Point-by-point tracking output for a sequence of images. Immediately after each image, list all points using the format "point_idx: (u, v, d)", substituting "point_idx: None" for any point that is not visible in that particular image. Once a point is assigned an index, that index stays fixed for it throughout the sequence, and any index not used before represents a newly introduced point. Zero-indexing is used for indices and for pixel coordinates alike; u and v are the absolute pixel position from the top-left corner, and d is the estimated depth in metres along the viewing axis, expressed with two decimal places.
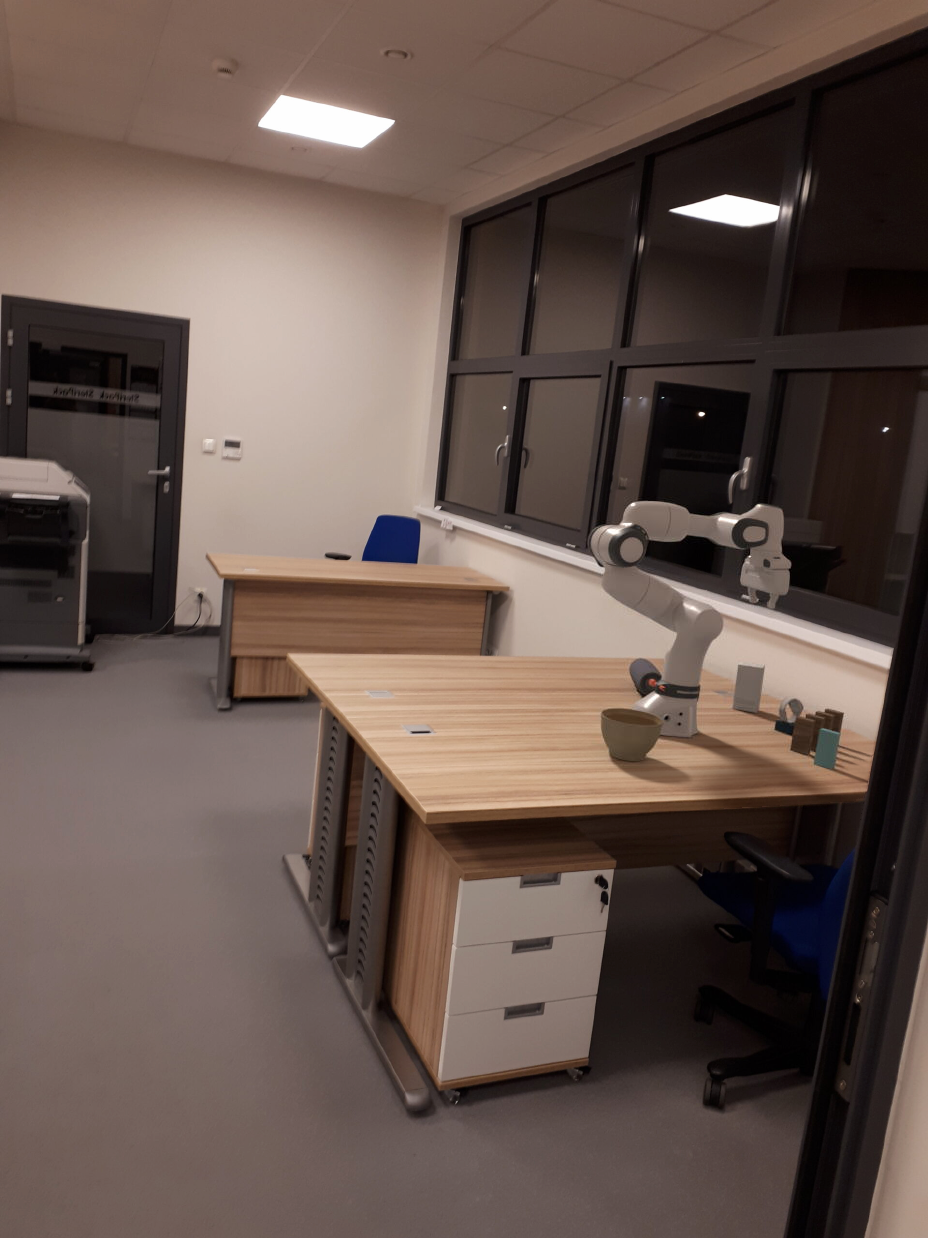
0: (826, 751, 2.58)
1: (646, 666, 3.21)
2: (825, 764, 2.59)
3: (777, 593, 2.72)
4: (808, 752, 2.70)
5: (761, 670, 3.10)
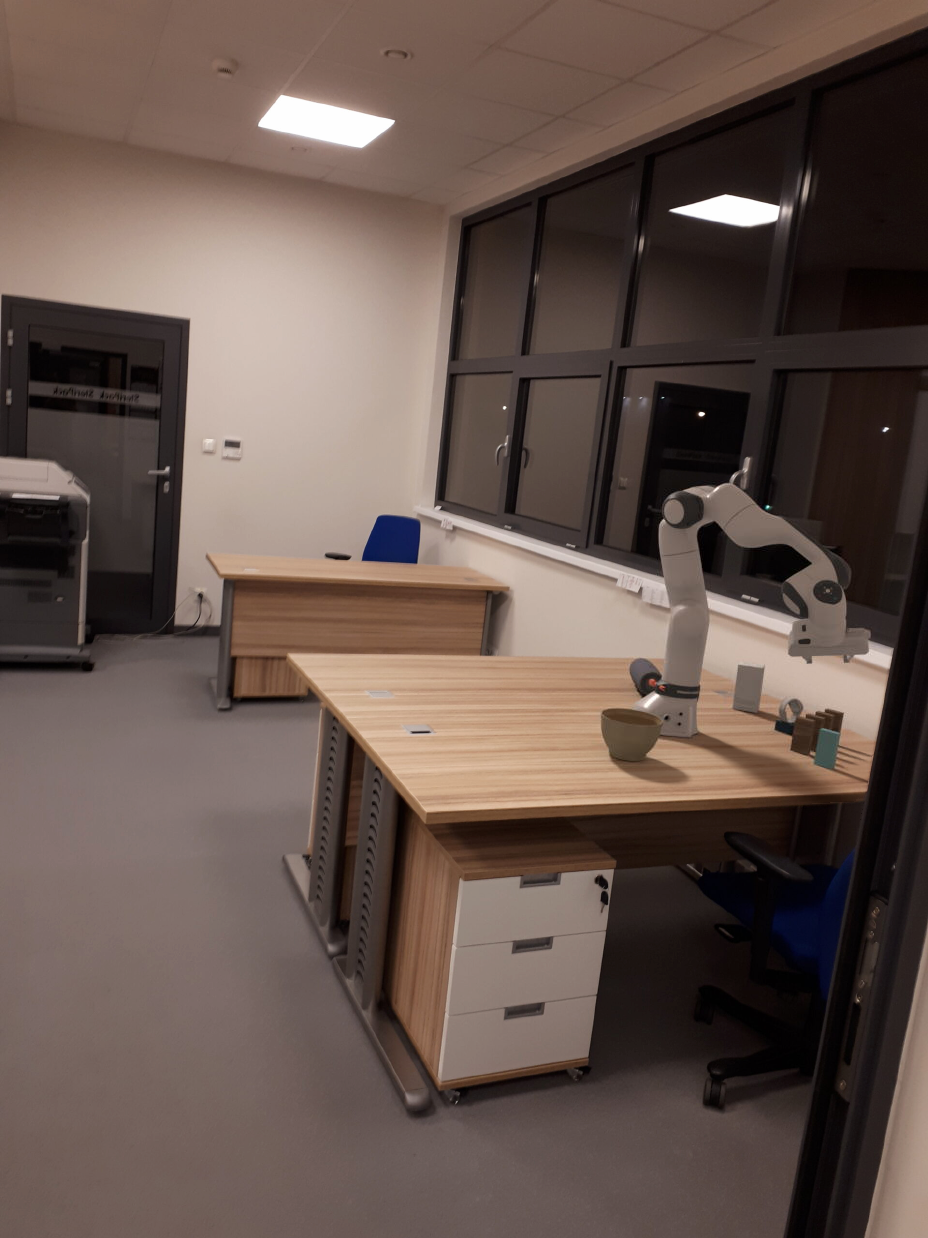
0: (826, 751, 2.58)
1: (646, 666, 3.21)
2: (825, 764, 2.59)
3: None
4: (808, 752, 2.70)
5: (761, 670, 3.10)
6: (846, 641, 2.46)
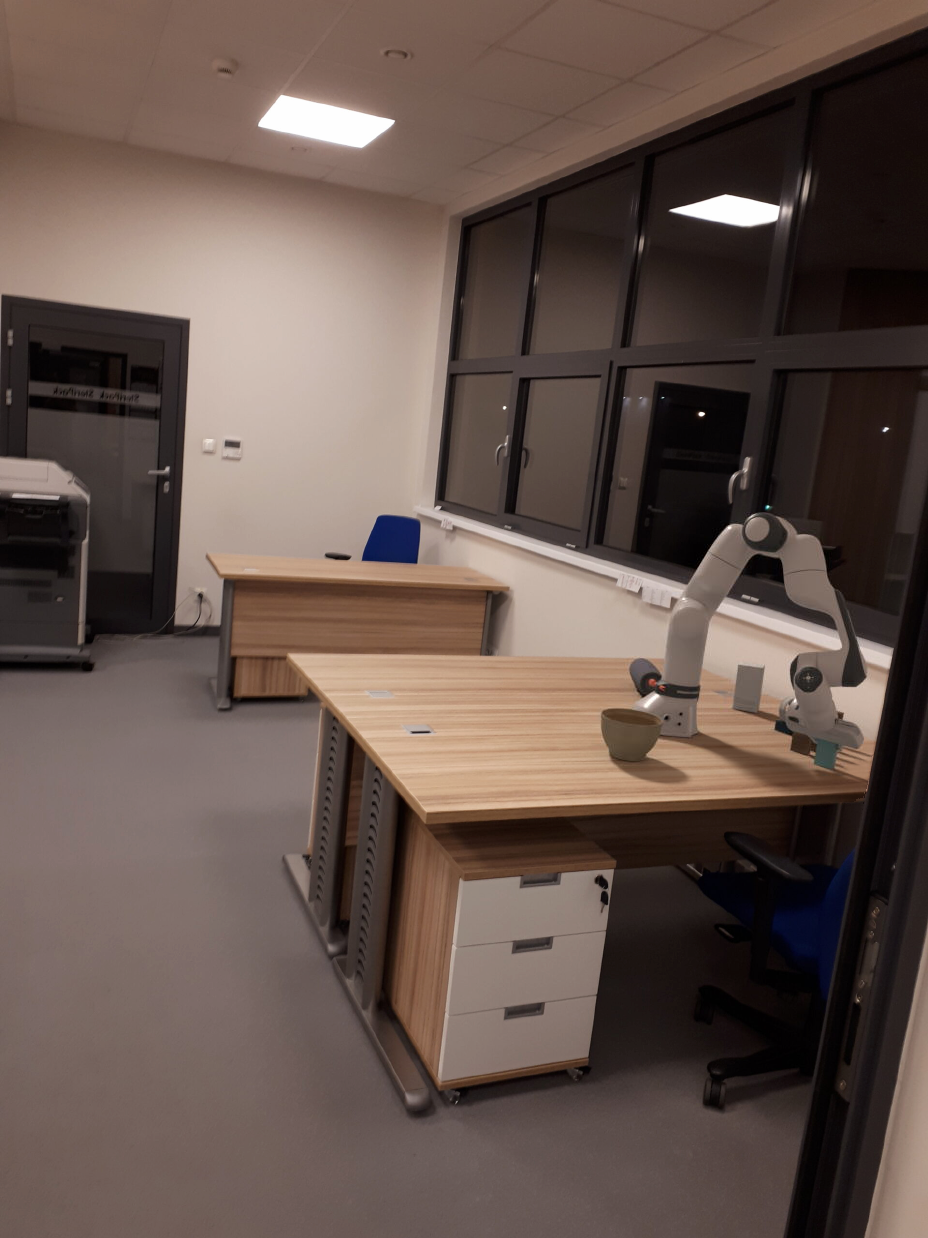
0: (826, 751, 2.58)
1: (646, 666, 3.21)
2: (825, 764, 2.59)
3: None
4: (808, 752, 2.70)
5: (761, 670, 3.10)
6: (835, 731, 2.49)
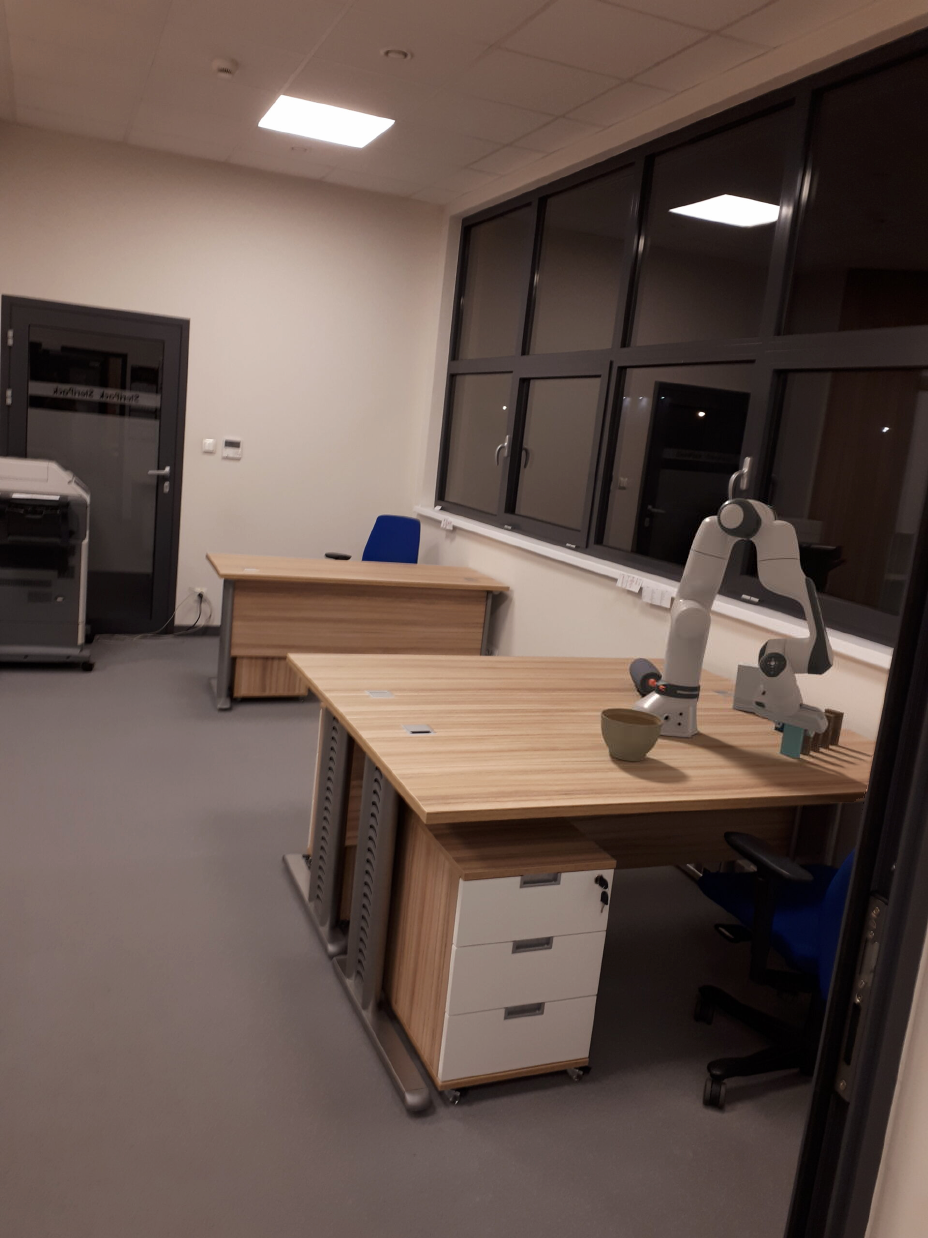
0: (792, 740, 2.65)
1: (646, 666, 3.21)
2: (790, 753, 2.66)
3: None
4: (808, 752, 2.70)
5: None
6: (799, 715, 2.56)
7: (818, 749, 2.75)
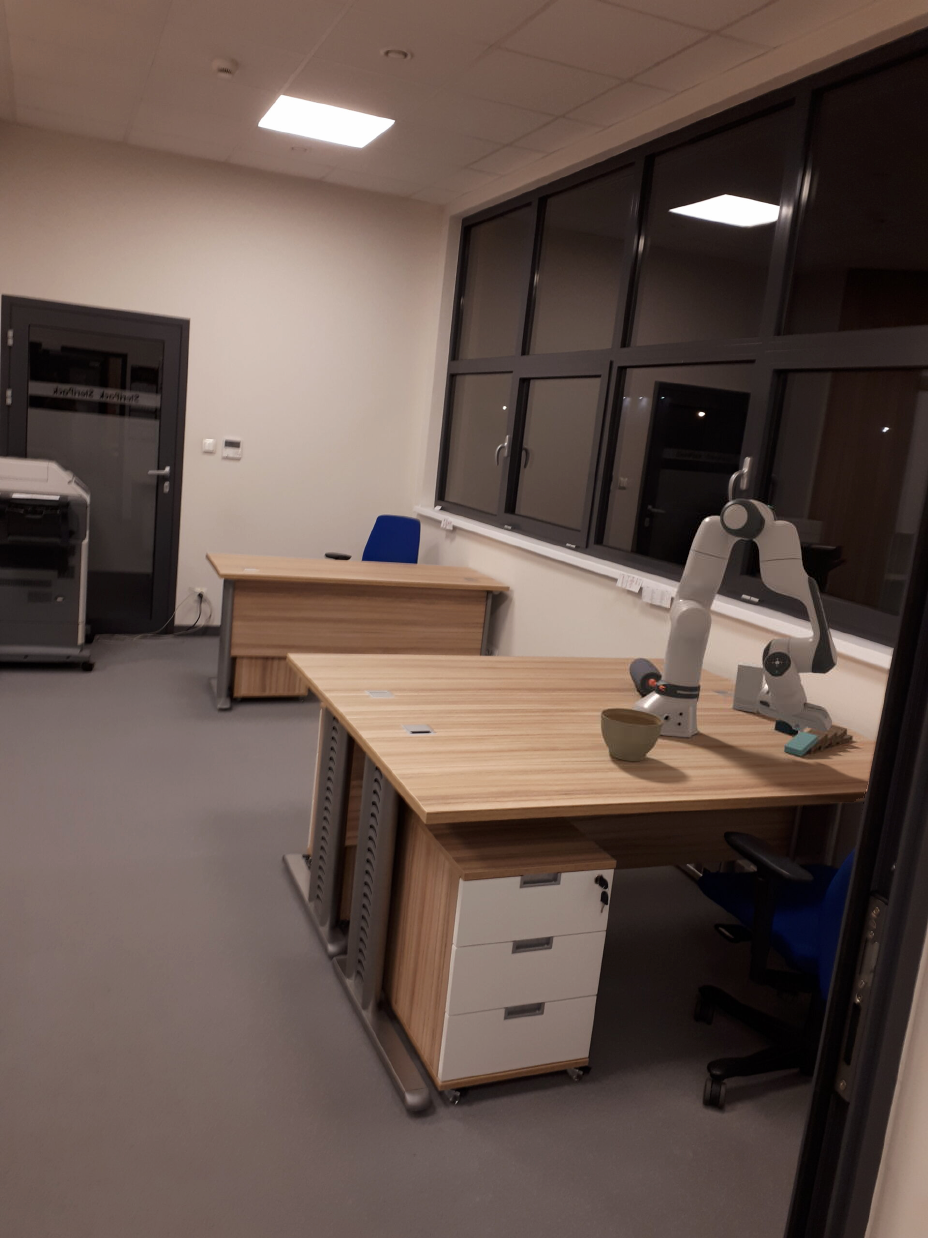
0: (801, 741, 2.70)
1: (646, 666, 3.21)
2: (796, 747, 2.68)
3: None
4: (812, 749, 2.71)
5: (761, 670, 3.10)
6: (804, 714, 2.57)
7: (822, 746, 2.76)
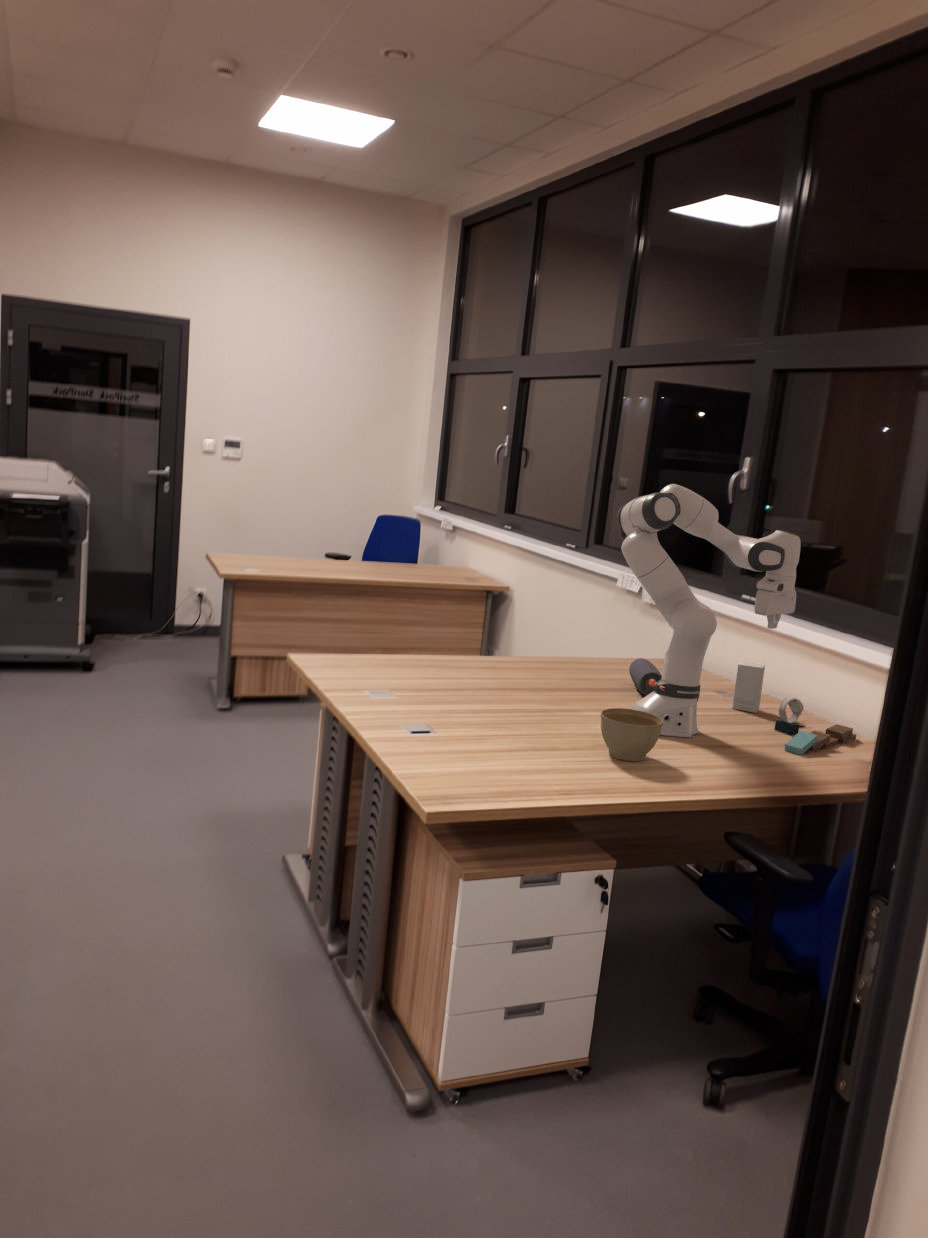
0: (802, 740, 2.72)
1: (646, 666, 3.21)
2: (796, 745, 2.70)
3: (755, 612, 2.85)
4: (814, 748, 2.73)
5: (761, 670, 3.10)
6: (790, 594, 2.92)
7: (826, 747, 2.79)
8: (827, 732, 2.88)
